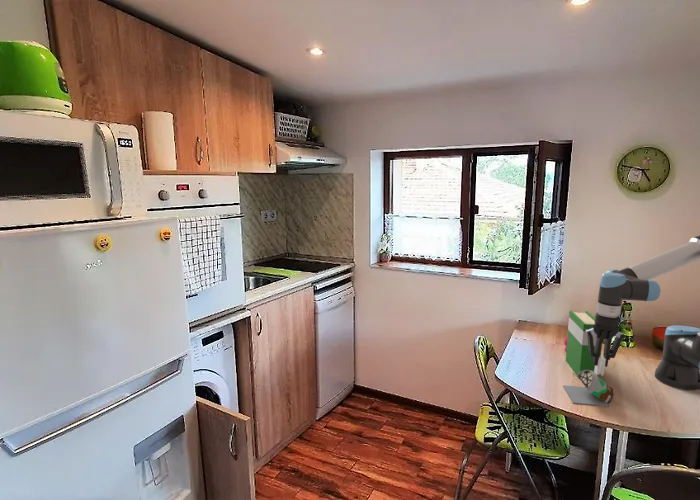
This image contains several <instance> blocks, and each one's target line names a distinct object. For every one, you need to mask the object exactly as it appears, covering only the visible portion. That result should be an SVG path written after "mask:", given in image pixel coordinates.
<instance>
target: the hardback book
mask: <svg viewBox="0 0 700 500" xmlns="http://www.w3.org/2000/svg"><path fill="white" fill-rule="evenodd" d="M574 312H575V311H573V310H569V312H568V313H569V314H568V317H569V323H568V324H567V325H568V328H567V336H568V337H567V336H566V337H567V349H566V352H565V362H566V363H567V364H568V366H569V367H570V368H571V370H572V371H573V373H574V374H575V376H576V375H577V374H578V373H579V372H581V371H583V370H591V371H593V372H594V369H595V365H594V364H593V358H594V356H591V355H590V353H589V350H588V338H587V334H586V332H585V330H586V329H588V330H589V329H592V327H593V326H594V324H595V315H593V314H591V313H590V312H589V311H588V310H585V311H584V312H577V313H574ZM592 336H593V343H594V349H595V344H596V339H597V338H596V336H597V335H596V334H595V332H593V335H592ZM602 347H603V346H602ZM602 347H601V350H603V349H602ZM601 356H602V351H601V352H600V358H601ZM599 376H600V374H599V375H598V377H599ZM576 377H577V378H578V379H579V380H581V379H580V378H579V377H578V376H576ZM599 378H600V377H599Z"/></svg>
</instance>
